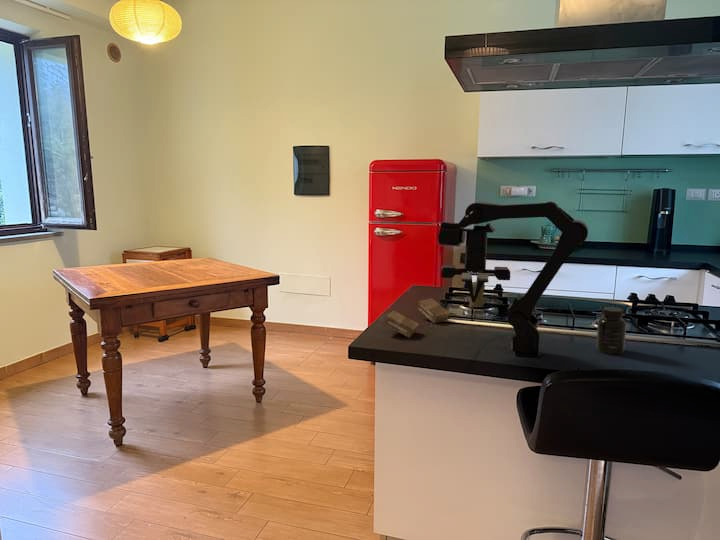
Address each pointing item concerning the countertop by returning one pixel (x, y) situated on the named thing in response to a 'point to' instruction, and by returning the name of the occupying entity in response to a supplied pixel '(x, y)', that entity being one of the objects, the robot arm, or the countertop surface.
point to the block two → (433, 310)
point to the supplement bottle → (611, 331)
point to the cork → (478, 297)
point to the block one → (401, 324)
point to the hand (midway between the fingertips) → (473, 302)
